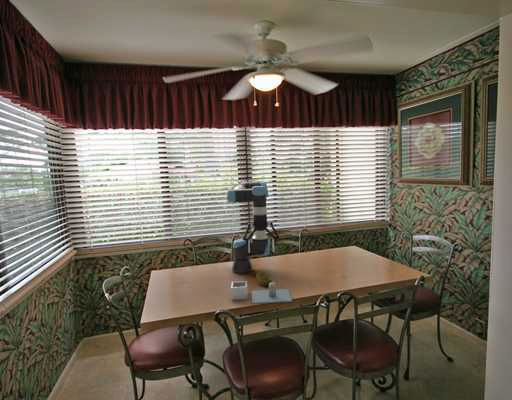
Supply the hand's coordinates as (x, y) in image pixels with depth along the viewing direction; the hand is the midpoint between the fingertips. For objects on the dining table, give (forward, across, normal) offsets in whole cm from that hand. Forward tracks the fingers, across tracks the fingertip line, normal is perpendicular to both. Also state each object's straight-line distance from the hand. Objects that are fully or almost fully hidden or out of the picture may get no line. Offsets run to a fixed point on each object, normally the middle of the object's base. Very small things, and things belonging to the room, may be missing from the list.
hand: (261, 251), depth 165 cm
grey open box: (+27, -14, +5) cm, 31 cm away
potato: (+27, +2, +21) cm, 35 cm away
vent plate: (+27, +6, +2) cm, 28 cm away
